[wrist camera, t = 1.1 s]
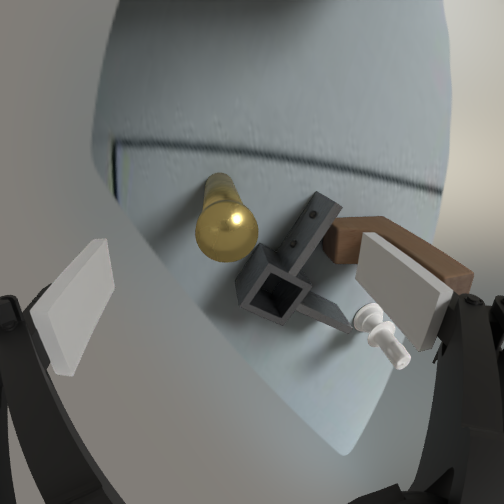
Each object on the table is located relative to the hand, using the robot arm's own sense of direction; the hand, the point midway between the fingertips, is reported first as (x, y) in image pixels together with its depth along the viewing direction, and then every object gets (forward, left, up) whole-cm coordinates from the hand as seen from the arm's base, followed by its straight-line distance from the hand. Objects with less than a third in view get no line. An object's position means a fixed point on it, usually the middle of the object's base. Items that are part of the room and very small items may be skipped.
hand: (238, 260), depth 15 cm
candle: (+19, +22, -21) cm, 36 cm away
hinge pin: (0, 0, -21) cm, 21 cm away
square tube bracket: (+9, +12, -21) cm, 25 cm away
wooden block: (+6, +17, -21) cm, 27 cm away
